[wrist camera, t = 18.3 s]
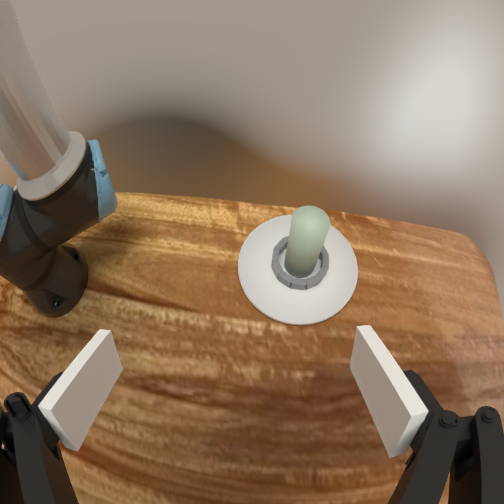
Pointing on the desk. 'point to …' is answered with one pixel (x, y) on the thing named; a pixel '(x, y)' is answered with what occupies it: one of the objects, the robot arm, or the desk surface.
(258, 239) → the carrier plate
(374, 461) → the desk surface
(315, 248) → the sage green cylinder
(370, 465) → the desk surface
